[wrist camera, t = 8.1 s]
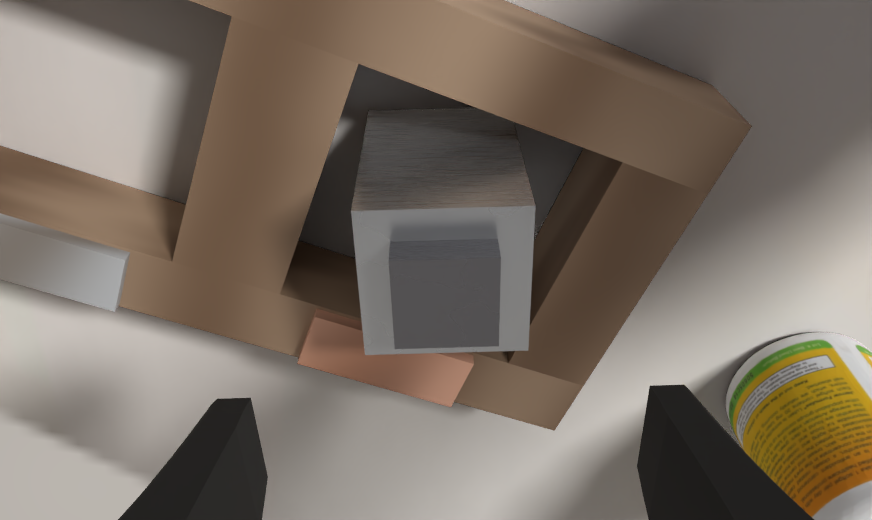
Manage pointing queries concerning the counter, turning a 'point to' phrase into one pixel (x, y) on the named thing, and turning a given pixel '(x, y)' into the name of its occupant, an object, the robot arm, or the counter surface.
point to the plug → (443, 233)
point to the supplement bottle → (809, 421)
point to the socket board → (302, 165)
